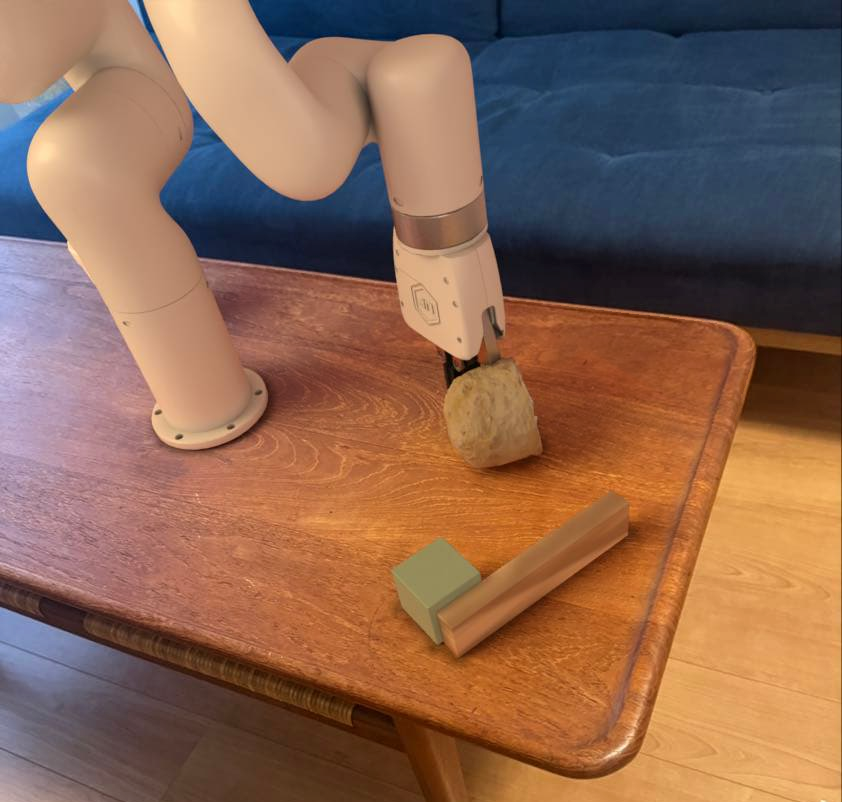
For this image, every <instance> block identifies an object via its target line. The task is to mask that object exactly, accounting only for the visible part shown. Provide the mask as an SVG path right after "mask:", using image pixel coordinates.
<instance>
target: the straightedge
mask: <svg viewBox="0 0 842 802" xmlns="http://www.w3.org/2000/svg"><path fill="white" fill-rule="evenodd" d="M630 504H631V503H630V502H629V501H628V500H627V499H625V498H624V497H623V496H622V495H619V494H618V493H617V492H615V491H614V490H613V489H611V490H609V491H608V492H607V493H605V494H603V496H601V497H600V498H598V499H597V500H595V501H594V502H593V503H591V504H589V505H588V506H586V507H585V508H584V509H583V510H581V511H579V512H577V514H575V515H574V516H573V517H571V518H570V519H568V520H567V521H565V522H564V523H562V524H561V525H559V526H558V527H556V528H555V529H554V530H552V531H551V532H549V533H548V534H547V535H544V537H542V538H541V539H539V540H538V541H537V542H535V543H534V544H533V545H531V546H529V547H528V548H527V549H525V550H523V551H522V552H521V553H519V554H518V555H516V556H515V557H513V558H512V559H510V561H508V562H506V563H505V564H503V565H502V566H501V567H499V568H498V569H497V570H495V571H493V572H492V573H491V574H489V575H488V576H486V577H485V578H484V579H481V580H482V581H481V582H479V583H478V584H476V585H475V586H474V587H472V588H471V589H469V590H468V591H466V592H465V593H464V594H462V595H461V596H459V597H458V598H456V599H455V600H454V601H452V602H451V603H449V604H448V605H446V606H445V607H444V608H442V609H441V610H439V611H438V612H436V615H437V619H438V623H439V627H440V631H441V634H442V638H443V642H442V643H444V644H445V645H446V646H447V648H448V649H449V650H450V651H451V652H452V653H453V654H454V655H455V656H456V657H457V658H461V657H462V656H463V655H464V654H467V652H469V651H471V649H473V648H474V647H476V646H477V645H478V644H480V643H481V642H482V641H484V640H485V639H487V638H488V637H490V636H491V635H492V634H493V633H495V632H496V631H498V630H499V629H500V628H502V627H503V626H505V625H506V624H507V623H509V622H510V621H512V620H513V619H514V618H516V617H517V616H519V615H520V614H521V613H523V612H524V611H525V610H526V609H528V608H530V607H531V606H532V605H533V604H535V603H536V602H538V601H539V600H541V599H542V598H543V597H545V596H546V595H548V594H549V593H551V592H552V591H553V590H555V589H556V588H557V587H558V586H560V585H561V584H563V583H564V582H565V581H567V580H568V579H570V578H571V577H572V576H574V575H575V574H576V573H578V572H579V571H580V570H582V569H583V568H585V567H586V566H588V565H589V564H591V562H593V561H595V560H596V559H597V558H599V557H600V556H601V555H603V554H605V553H606V552H607V551H608V550H609V549H611V548H612V547H613V546H615V545H617V544H618V543H619V542H621V541H623V539H625V538H626V537H628V536H629V523H630Z"/></svg>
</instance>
